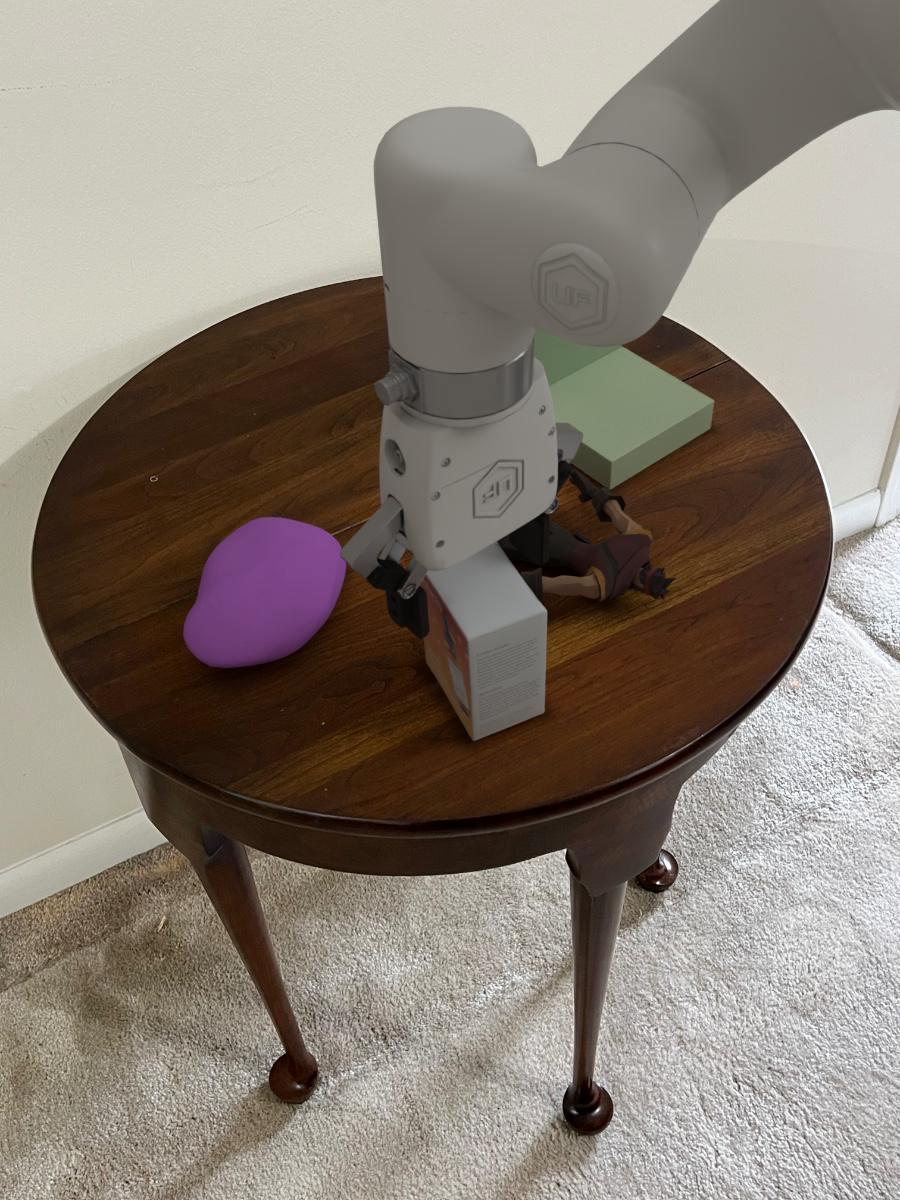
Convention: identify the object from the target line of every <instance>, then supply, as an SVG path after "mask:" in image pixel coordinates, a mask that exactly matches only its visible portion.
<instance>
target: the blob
mask: <svg viewBox="0 0 900 1200" xmlns="http://www.w3.org/2000/svg"><path fill="white" fill-rule="evenodd" d="M342 548H343V547H341V545H340V542H339V541H338V540H337V538H335V537H334V536H333V535H332V534H331V533H330V532H328V531H326V530H325V529H323V528H321V527H318V526H316V525H314V524H311V523H307V522H302V521H298V520H294V519H291V518H285V517H279V516H278V517H276V516H265V517H258V518H255V519H253V520H250V521H248V522H246V523H245V524H243V525H242V526H240V527H238V528H237V529H236V530H234V531H233V532H232V533H230V534H229V535H228V536H227V537H225V538H224V539H223V540H222V541H221V542H220V543H219V544H218V545H217V546H216V547H215V548H214V549H213V550H212V552H211V553H210V554H209V556H208V558H207V560H206V562H205V564H204V567H203V571H202V574H201V576H200V577H201V578H200V582H199V587H198V592H197V596H196V600H195V603H194V604H193V606H192V608H191V609H190V610H189V612H188V613H187V615H186V618H185V621H184V623H183V632H182V633H183V634H182V637H183V640H184V642H185V645H186V647H187V648H188V650H189V651H190V652H191V653H192V654H193V655H194V656H195V658H197V660H198V661H200V662H201V663H204V664H205V665H207V666H209V667H211V668H222V669H230V668H243V667H251V666H258V665H261V664H262V665H263V664H267V663H271V662H275V661H278V660H280V659H281V660H282V659H284V658H286V657H288V656H290V655H293V654H294V653H295V652H298V650H299V649H301V648H302V647H303V646H304V645H305V644H306V643H308V642H309V641H310V640H311V639H312V637H314V636H315V635H316V634H317V633H318V631H319V630H320V629H321V628H322V627H323V626H324V624H325V623H326V622H327V620H328V619H329V618H330V616H331V614H332V611H333V610H334V608H335V606H336V603H337V602H338V599H339V596H340V594H341V591H342V587H343V585H344V580H345V577H346V572H347V571H346V570H347V563H346V562H345V561H344V560H343V559H342V558H341V557H340V552H341V550H342Z"/></svg>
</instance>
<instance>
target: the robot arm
mask: <svg viewBox="0 0 900 1200" xmlns="http://www.w3.org/2000/svg"><path fill="white" fill-rule="evenodd" d="M879 111H896V112H900V0H718V1H717V2H715V3H714V4H713V5H712V6H711V7H710V8H709V9H708V10H706V11H705V12H704V13H703V14H702V15H701V16H700V17H699V18H698V19H696V20H695V21H694V22H693V23H692V24H691V25H690V26H689V27H688V28H686V30H684V31H682V33H681V34H679V36H677V37H676V38H675V39H674V40H673V41H672V42H671V43H670V44H669V45H667V46H666V47H665V48H664V49H663V50H661V52H659V54H657V55H656V56H655V57H654V58H653V59H652V60H651V61H650V62H649V63H647V64H646V65H645V66H644V67H643V68H642V69H641V70H640V71H639V72H637V73H635V75H634V76H633V77H632V78H631V79H630V80H629V81H627V82H626V83H625V84H624V85H623V86H622V87H621V88H619V90H618V91H617V92H615V94H614V95H612V97H610V98H609V99H608V101H607V102H606V103H604V104H603V106H602V107H600V108H599V109H598V111H596V113H595V114H594V115H593V116H592V118H591V119H589V121H588V122H587V124H586V125H585V126H584V127H583V129H582V130H581V131H580V132H579V134H577V136H576V137H575V138H574V140H573V141H572V142H571V144H570V145H569V147H568V148H567V149H566V151H565V152H564V153H563V155H562V156H561V157H560V158H559V159H555V160H554V161H551V162H549V163H547V164H544V165H541V166H539V165H538V156H537V151H536V148H535V145H534V143H533V141H532V138H531V136H530V135H529V133H528V132H527V131H526V129H525V128H524V127H523V126H522V125H521V124H520V123H518V122H517V121H516V120H514V119H513V118H511V117H509V116H507V115H505V114H503V113H501V112H498V111H495V110H492V109H487V108H483V107H474V106H445V107H438V108H432V109H431V108H430V109H427V110H423V111H419V112H416V113H414V114H411V115H409V116H406V117H405V118H402V119H401V120H399V121H398V122H397V123H395V124H394V125H392V126H391V127H390V128H389V129H388V130H387V131H386V132H385V133H384V135H383V136H382V138H381V139H380V141H379V143H378V145H377V147H376V151H375V154H374V159H373V185H374V197H375V198H374V199H375V207H376V208H375V209H376V219H377V229H378V230H377V231H378V239H379V250H380V261H381V271H382V272H381V273H382V283H383V292H384V302H385V303H384V304H385V312H386V314H385V315H386V322H387V324H386V325H387V334H388V336H387V337H388V345H389V346H388V347H389V350H387V354H388V362H389V363H388V365H389V371H388V372H387V373H386V374H385V376H384V377H383V378H381V379H379V380H378V381H376V382H374V390H375V395H376V396H377V398H378V400H379V401H380V402H381V403H382V404H383V409H382V417H381V424H380V425H381V426H380V434H379V435H380V439H379V459H378V460H379V461H378V462H379V463H378V466H379V467H378V469H379V471H378V472H379V474H378V475H379V477H378V478H379V495H380V507H379V508H378V509H377V510H376V511H375V512H374V513H373V514H372V516H371V517H369V519H367V521H366V522H365V523H364V524H363V525H362V526H361V527H360V529H359V530H357V532H356V533H354V535H353V536H352V537H351V538H350V539H349V540H348V541H347V543H346V544H345V545H344V546H343V547H341V548H342V550H341V552H340V557H341V558H342V559H343V560H344V561H345V562H346V565H348V566H349V567H350V568H351V569H352V570H353V571H354V572H356V573H357V574H358V575H359V576H360V577H361V578H362V579H364V581H366V582H367V583H368V584H369V585H371V586H372V587H373V588H374V589H377V590H380V591H385V598H386V606H387V607H386V608H387V613H388V616H389V617H390V619H391V620H392V621H393V622H394V623H395V624H396V626H398V627H399V628H401V629H402V628H405V627H406V628H407V629H408V630H409V631H410V632H411V633H412V634H413V635H414V636H415V637H416V638H417V639H418V640H424V638H425V637H426V636H428V632H430V629H429V616H428V604H427V594H426V591H425V590H424V589H423V588H422V587H421V586H420V584H421V582H422V580H423V579H424V577H425V575H426V573H427V571H428V570H430V571H438V570H443V569H446V568H449V567H452V566H454V565H456V564H458V563H460V562H461V561H463V560H465V559H467V558H469V557H470V556H472V555H474V554H476V553H477V552H479V551H481V550H482V549H484V548H486V547H488V546H489V545H491V544H493V543H494V542H496V541H498V540H500V539H501V538H503V537H505V536H506V535H508V534H509V541H510V543H511V544H512V545H513V546H514V547H515V548H517V549H518V550H519V551H520V552H522V553H523V554H524V555H525V556H527V557H528V558H529V559H530V560H532V561H533V562H534V563H535V564H534V565H536V564H537V566H539V565H543V564H544V563H546V562H548V560H549V531H550V520H551V517H550V515H552V514H553V513H555V512H556V511H557V509H558V508H559V505H560V499H559V497H557V496H558V494H559V493H560V491H561V489H562V488H563V487H564V485H565V483H566V482H567V481H568V480H569V478H570V474H571V472H572V470H573V465H572V464H571V463H570V462H571V460H574V458H575V455H576V453H577V451H578V448H579V446H580V444H581V441H582V439H583V433H582V432H581V431H579V430H578V429H576V428H575V427H573V426H572V425H570V424H569V423H555V415H554V408H553V402H552V397H551V392H550V388H549V385H548V381H547V377H546V373H545V370H544V367H543V365H542V363H541V362H540V361H539V360H538V359H537V358H535V357H534V345H535V328H537V329H539V330H542V331H544V332H546V333H548V334H551V335H553V336H556V337H558V338H561V339H563V340H566V341H569V342H573V343H576V344H580V345H585V346H592V347H612V346H619V345H622V346H623V345H625V344H629V343H631V342H634V341H635V340H637V339H638V338H640V337H642V336H643V335H645V334H646V333H647V332H649V331H650V330H651V329H652V328H653V327H654V326H655V325H656V324H657V323H658V322H659V320H660V319H661V318H662V316H663V315H664V313H665V312H666V310H667V309H668V307H669V305H670V303H671V302H672V300H673V297H674V296H675V294H676V292H677V290H678V288H679V286H680V285H681V282H682V280H683V279H684V277H685V275H686V273H687V271H688V269H689V267H690V266H691V264H692V262H693V259H694V256H695V254H696V253H697V251H698V249H699V247H700V246H701V244H702V242H703V240H704V238H705V236H706V234H707V232H708V230H709V228H710V227H711V225H712V223H713V222H714V220H715V218H716V216H717V214H718V213H719V212H720V211H721V210H722V209H723V208H724V207H725V206H726V205H727V204H729V203H730V202H731V201H732V200H733V199H735V198H736V197H737V196H738V195H739V194H741V193H742V192H743V191H745V190H746V189H747V188H749V187H750V186H752V185H753V184H754V183H756V182H757V181H758V180H760V179H761V178H762V177H763V176H765V175H766V174H768V172H770V171H771V170H773V169H774V168H775V167H778V165H780V164H782V163H783V162H785V160H787V159H788V158H790V157H791V156H792V155H794V154H795V153H797V152H798V151H800V150H801V149H803V148H804V147H806V146H807V145H808V144H810V143H811V142H813V141H814V140H816V139H818V138H819V137H821V136H823V135H824V134H826V133H828V132H830V131H831V130H833V129H835V128H836V127H838V126H840V125H842V124H845V123H846V122H849V121H852V120H853V119H855V118H858V117H861V116H863V115H864V116H865V115H866V114H870V113H873V112H879ZM406 550H407V551H408V552H409V553H410V554H412V555H413V556H412V557H411V560H410V562H409V563H408V565H407V567H406V568H405V567H403V565H401V564H400V561H401V560H402V557H403V555H404V553H405V551H406ZM379 554H380V555H379Z"/></svg>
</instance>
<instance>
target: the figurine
mask: <svg viewBox="0 0 900 1200" xmlns="http://www.w3.org/2000/svg"><path fill="white" fill-rule="evenodd" d="M568 481H569V482H570V483H571V484H572V485H573V486H575V487H576V488H577V489H578V491H579V492H580V493H579V494H578V496H577V498H578V500H579V502H580V503H581V504H585V503H587V502H589V501H591V505H592V508H593V509H594V510H595V514H596V516H597V518H598V519H599V522H600V523H612V524H613V527H614V529H615V530H616V532H618V533H617V534H615V535H613V536H611V537H609V538H608V539H606V540H604V541H601V542H598V543H595V544H592V541H591V540H590V539H589V538H588V537H586V536H585V535H583V534H582V533H580V532H576V533H574V534H573V535H572V533H570V531H568V530H567V529H566V528H564V527H563V526H561V525H559V524H557V523H555V522H553V521H552V519H550V531H549V560H548V562H546V563H544V564H543V565H537V564H535V563H534V562H533V561H532V560H530V559H529V558H528V557H527V556H525V555H524V554H523V553H522V552H520V551H519V550H518V549H517V548H515V547H514V546H513V545H512V544H511V543H510V541H509V534H508V535H506V536H505V537H503V538H501V539H500V540H498V541H497V542H498V544H499V546H500V547H501V549H502V550H503V552H504V553H505V555H506V556H507V557H508V559H509V560H510V559H511V560H517V561H524V562H528V563H530V564H533V565H537V566H539V568H536V569H534V570H533V571H521V572H520V573H519V574H520V576H521V577H522V578H523V580H524V581H525V583H526V584H527V585H528V587H529V588H530V589H531V591H532V592H533V594H534V595H535V596H536V598H537V599H538V600H539V601H540V602H541V603H542V604H544V603H545V601H544V594H556V595H559V596H569V597H571V596H582V597H584V598H586V599H587V598H588V599H593V600H594V599H595V601H597V602H602V601H604V600H608V601H609V600H611V599H612V598H615V597H620V596H625V594H626V593H627V592H628V591H633V592H640V594H645V596H650V597H651V598H653V599H654V600H658V599H659V598H660V599H662V600H663V601H664V602H665V596H666V595H667V594H669V593H671V592H672V590H669V589H668V588H669V587H670V585H671V584H672V583H673V582H674V581H675V580H676V577H670V578H669V577H668V578H667V575H666V571H665V569H666V566H664V567H655V566H653V565H652V564H651V558H650V557H649V554H650V546H651V543H652V541H653V535H652V532H651V531H650V530H648V529H644V527H642V526H641V525H640V524H638V523H637V522H635V521H634V520H633V519H632V518H631V517H630V516H629V515H628V514H627V513H625V512H624V511H625V508H626V506H627V504H626V501H625V499H624V498H623V496H622V495H618V494H614V493H612V491H611V490H609V489H608V487H607V488H606V487H600V488H598V487H597V486H596V485H594V484H593V483H592V482H591V481H590V480H589V479H588V478H587V477H586V476H584V475H583V474H582V472H580V471H579V470H577V469H576V468H572V472H571V474H570V476H569V477H568ZM542 567H565V568H570V569H571V570H574V571H575V572H577V573H578V574H579V575H580V576H575V575H574V576H573V575H560V576H559V575H558V576H556V577H550V576H549V577H548V576H544V575H543V570H542V569H543V568H542Z"/></svg>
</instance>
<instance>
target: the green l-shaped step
mask: <svg viewBox="0 0 900 1200" xmlns="http://www.w3.org/2000/svg"><path fill="white" fill-rule="evenodd" d="M534 357H535V358H537V359H538V360H539V361H540V362H541V363H542V365H543V367H544V370H545V373H546V377H547V381H548V385H549V388H550V392H551V397H552V402H553V408H554V415H555V423H569V424H570V425H572V426H573V427H575V428H576V429H578V430H579V431H581V432H582V433H583V439H582V441H581V444H580V446H579V448H578V451H577V453H576V455H575V458H574V460H571V462H570V464H571V465H572V466H574V467H575V468H577V469H579V470H580V471H581V472H583V473H584V474H586V475H587V476H589V477H590V478H591V479H593V480H595V482H597V483H598V484H601V485H602V486H603V487H604V488H607V487H608V489H609V490H610V491H611V490H613V489H614V488H615V487H617V486H619V485H621V484H622V483H624V482H625V481H628V480H629V479H631V478H632V477H634V476H636V475H637V474H639V473H640V472H642V471H643V470H645V469H647V468H648V467H650V466H651V465H653V464H656V463H657V462H659V461H660V460H661V459H663V458H666V456H668V455H670V454H672V453H673V452H674V451H677V450H678V449H679V448H681V447H683V446H684V445H686V444H688V443H690V442H691V441H693V440H695V439H696V438H698V437H699V436H701V435H703V434H704V433H706V432H707V431H709V430H710V429H711V428H712V420H713V414H714V407H715V400H714V399H713V398H711V397H710V396H708V395H706V394H705V393H702V392H701V391H699V390H698V389H696V388H693V387H692V386H691V385H689V384H688V383H686V382H684V381H682V380H680V379H679V378H677V377H675V376H673V375H671V374H670V373H668V372H666V371H665V370H664V369H662V368H660V367H658V366H657V365H655V364H653V363H652V362H650V361H648V360H647V359H644V358H643V357H641V356H639V355H638V354H636V353H634V352H633V351H631V350H629V349H628V348H626V347H624V346H623V345H619V346H612V347H592V346H585V345H580V344H576V343H573V342H569V341H566V340H563V339H561V338H558V337H556V336H553V335H551V334H548V333H546V332H544V331H542V330H539V329H537V328H535V345H534Z"/></svg>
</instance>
